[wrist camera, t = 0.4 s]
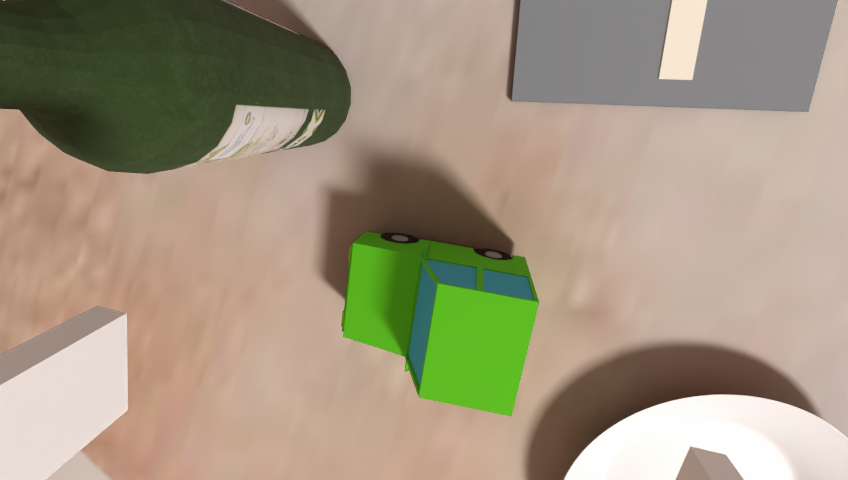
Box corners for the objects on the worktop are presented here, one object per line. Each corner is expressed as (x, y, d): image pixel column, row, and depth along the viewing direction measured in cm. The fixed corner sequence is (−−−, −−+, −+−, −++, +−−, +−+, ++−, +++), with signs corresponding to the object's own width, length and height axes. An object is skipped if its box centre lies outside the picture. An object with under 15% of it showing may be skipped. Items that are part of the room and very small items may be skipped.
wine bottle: (284, 160, 36) (-440, 329, 8) (237, 67, 35) (-889, -157, 6) (369, 119, 35) (-154, 140, 6) (323, 19, 33) (-675, -595, 4)
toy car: (365, 212, 37) (325, 246, 27) (526, 240, 36) (542, 286, 26) (353, 323, 40) (312, 389, 30) (501, 352, 39) (508, 429, 29)
